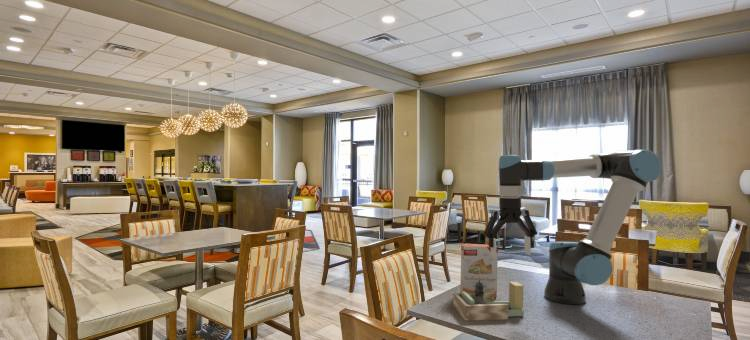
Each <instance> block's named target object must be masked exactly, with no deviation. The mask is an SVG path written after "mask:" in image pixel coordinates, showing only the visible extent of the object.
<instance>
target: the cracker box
mask: <svg viewBox="0 0 750 340" xmlns="http://www.w3.org/2000/svg"><path fill="white" fill-rule="evenodd" d="M498 250H499V247H497V246H496V257H493V256H491V247H489V244H483V243H482V244H478V243H461V251H460V282H459V283H460V284H459V285H460V287H459V288H460V289H459V290H460V291H459V292H460V293H462V291H465V292H466V293H474V292H475V284H476V283H477V282H479V280H480V282H481V283H482V284H483V292H484V293H494V299H496V298H497V297H498V296H497V295H498V294H497V293H498V291H497V290H498V261H499V260H498V255H499V253H498V252H499V251H498Z"/></svg>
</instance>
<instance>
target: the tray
mask: <svg viewBox="0 0 750 340" xmlns="http://www.w3.org/2000/svg"><path fill="white" fill-rule="evenodd" d="M508 287H509V288H508V300H498V301H497V300H494V301H486V303H487V304H508V308H510V309H508V317H524V316H525V310H524V308H523V307H524V285H523V284H522V283H519V282H518V281H509V282H508ZM462 299H463V300H464V301H465V302H466V303H467V304H468V305H474V302H475V300H474V299H473V298H472V297H470V296H469V295H468V294H467V293H466V292H465V291H462Z"/></svg>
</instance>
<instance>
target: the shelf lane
mask: <svg viewBox="0 0 750 340" xmlns="http://www.w3.org/2000/svg"><path fill="white" fill-rule="evenodd" d="M467 294H468V295H469V296H470V297H472V298H473V299H475V293H467ZM483 299H484V302H486V301H495V298H494V293H484V294H483ZM453 308H454V310H456V312H458V315H460V316H461V317H462V319H463V320H464V321H491V320H509V316H508V310H509V307H508V304H477V305H468V304H467V303H466V302H465V301H464V300H463V299H462V293H453Z"/></svg>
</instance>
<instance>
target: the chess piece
mask: <svg viewBox="0 0 750 340" xmlns="http://www.w3.org/2000/svg"><path fill="white" fill-rule="evenodd" d="M474 293H475V299H474V300H475V302H474V305H477V304H487V303H486V302H484V299H483V294H484V292H483V284H482V283H481V282H480V280H479V282H477V283H476V284H475V292H474Z"/></svg>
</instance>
